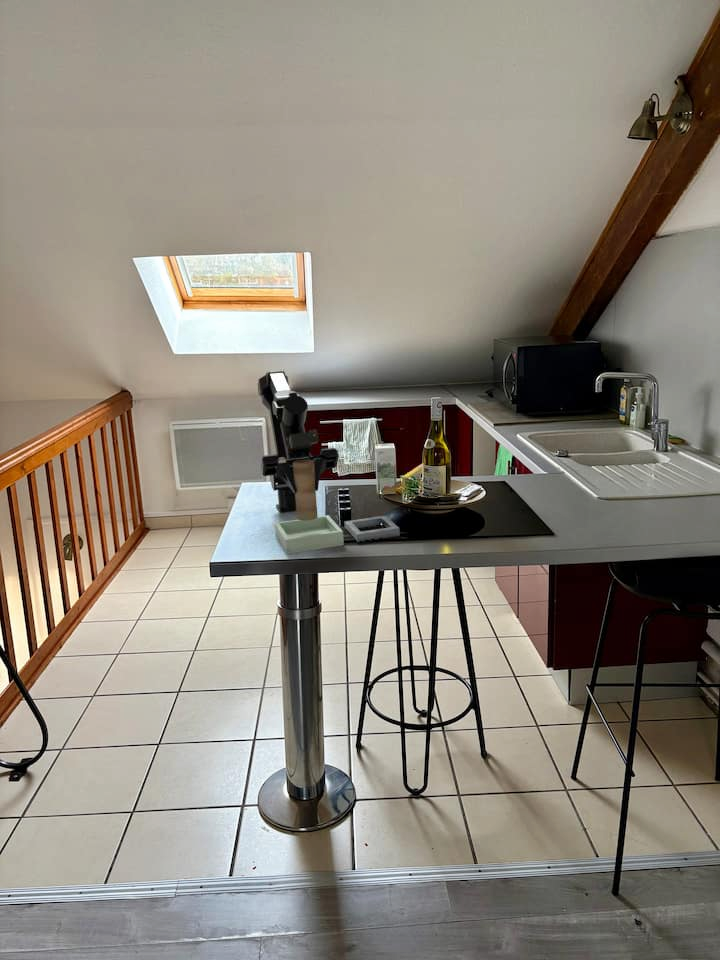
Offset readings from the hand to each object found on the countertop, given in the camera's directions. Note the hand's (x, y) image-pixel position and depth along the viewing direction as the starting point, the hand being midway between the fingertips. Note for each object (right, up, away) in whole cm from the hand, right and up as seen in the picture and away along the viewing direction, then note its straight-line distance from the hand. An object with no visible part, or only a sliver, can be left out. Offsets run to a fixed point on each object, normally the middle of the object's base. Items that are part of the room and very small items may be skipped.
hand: (306, 491), depth 179 cm
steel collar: (+16, -10, +8) cm, 21 cm away
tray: (0, -12, +5) cm, 13 cm away
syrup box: (+21, -1, +42) cm, 47 cm away
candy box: (+29, -2, +36) cm, 46 cm away
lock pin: (0, -6, +3) cm, 7 cm away
